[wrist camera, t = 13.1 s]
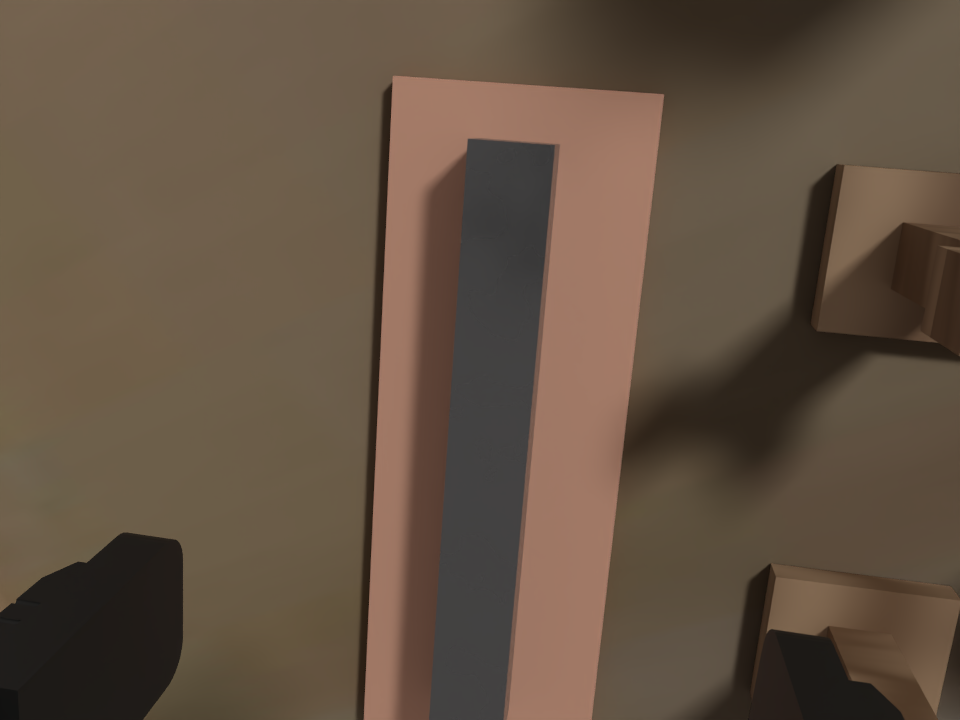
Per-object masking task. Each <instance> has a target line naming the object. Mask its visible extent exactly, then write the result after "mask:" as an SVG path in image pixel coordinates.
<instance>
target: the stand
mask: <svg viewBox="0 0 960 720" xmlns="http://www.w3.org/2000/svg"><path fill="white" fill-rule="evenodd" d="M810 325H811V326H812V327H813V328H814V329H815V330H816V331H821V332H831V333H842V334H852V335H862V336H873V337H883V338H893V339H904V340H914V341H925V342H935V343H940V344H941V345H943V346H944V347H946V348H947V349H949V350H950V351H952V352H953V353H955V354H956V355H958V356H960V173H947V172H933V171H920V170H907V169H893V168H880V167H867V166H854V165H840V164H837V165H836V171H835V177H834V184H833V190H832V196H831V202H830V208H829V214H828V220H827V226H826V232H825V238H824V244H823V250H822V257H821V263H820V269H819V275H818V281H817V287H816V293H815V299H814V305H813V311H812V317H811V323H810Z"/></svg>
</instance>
